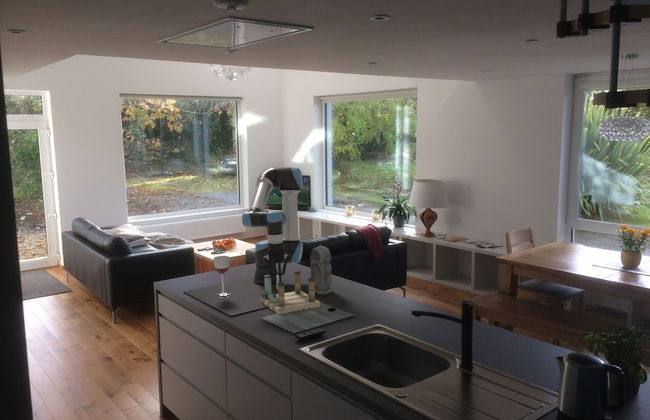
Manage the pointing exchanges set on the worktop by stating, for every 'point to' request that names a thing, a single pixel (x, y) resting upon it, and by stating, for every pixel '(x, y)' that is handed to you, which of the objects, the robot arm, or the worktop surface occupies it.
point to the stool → (292, 297)
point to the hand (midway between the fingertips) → (278, 288)
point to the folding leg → (269, 289)
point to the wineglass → (221, 268)
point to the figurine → (321, 269)
